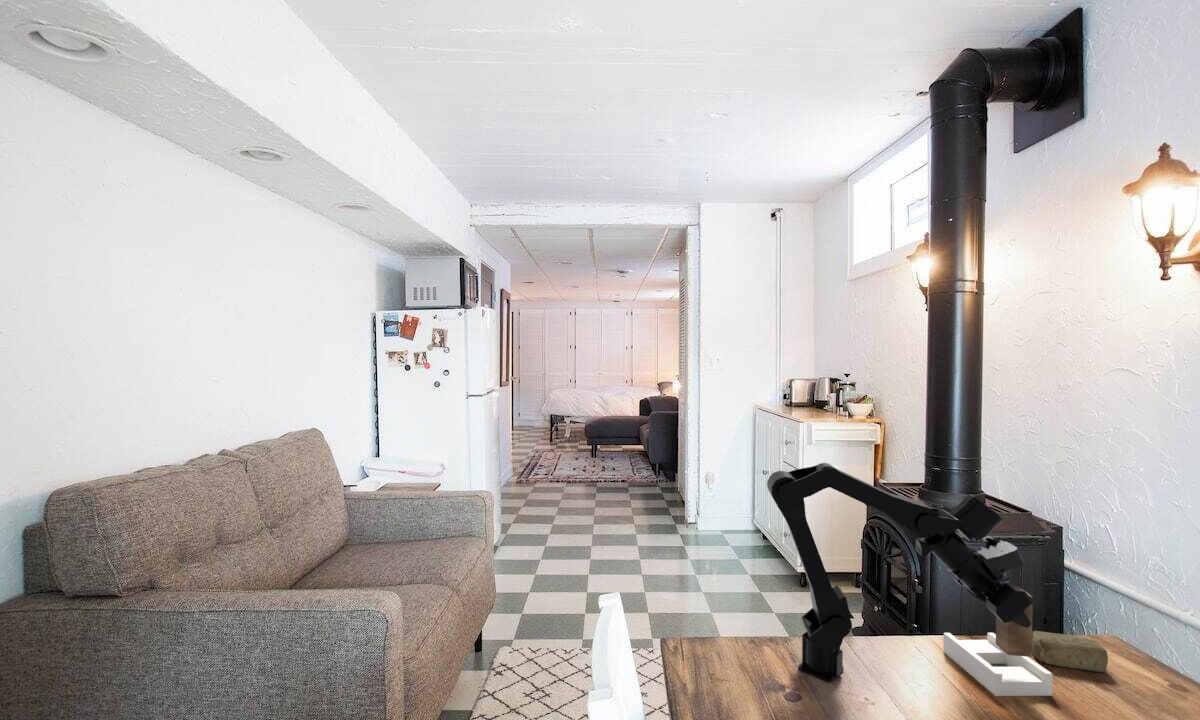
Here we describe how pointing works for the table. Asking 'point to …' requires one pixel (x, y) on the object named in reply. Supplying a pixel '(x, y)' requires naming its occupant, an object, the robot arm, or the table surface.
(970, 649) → the walled channel
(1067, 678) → the table surface
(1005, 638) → the walnut block
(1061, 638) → the stone block
